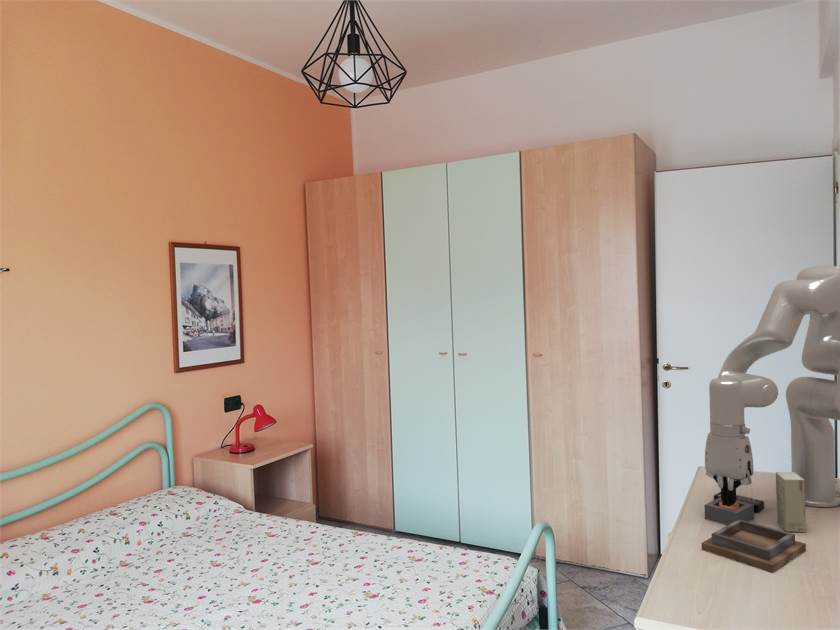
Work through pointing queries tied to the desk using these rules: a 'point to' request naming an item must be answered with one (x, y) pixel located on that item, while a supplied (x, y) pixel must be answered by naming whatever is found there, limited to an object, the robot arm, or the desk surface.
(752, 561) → the square wooden tray
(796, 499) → the skincare box
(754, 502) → the multiport hub
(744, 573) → the desk surface
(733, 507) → the button
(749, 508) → the button housing
